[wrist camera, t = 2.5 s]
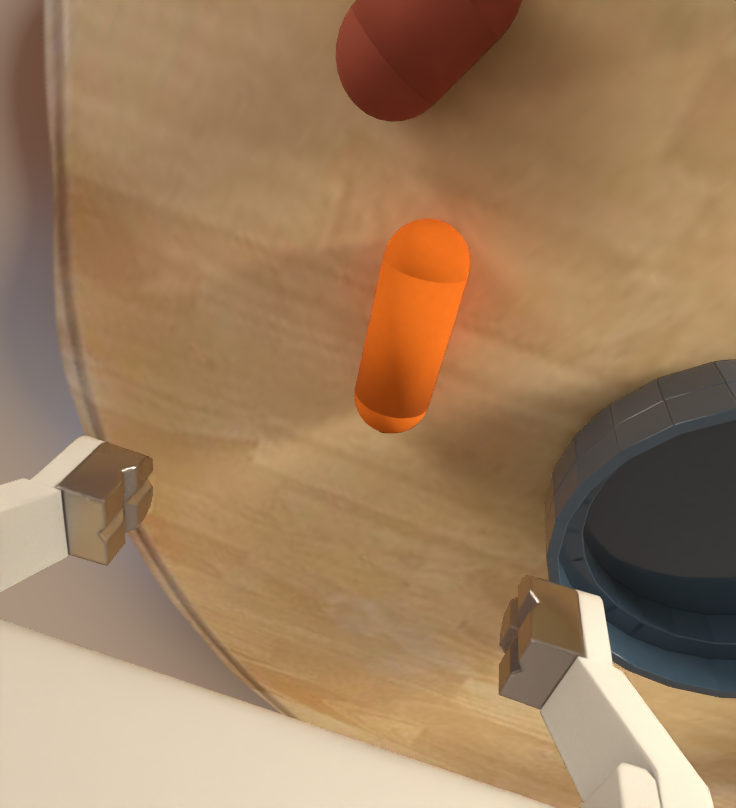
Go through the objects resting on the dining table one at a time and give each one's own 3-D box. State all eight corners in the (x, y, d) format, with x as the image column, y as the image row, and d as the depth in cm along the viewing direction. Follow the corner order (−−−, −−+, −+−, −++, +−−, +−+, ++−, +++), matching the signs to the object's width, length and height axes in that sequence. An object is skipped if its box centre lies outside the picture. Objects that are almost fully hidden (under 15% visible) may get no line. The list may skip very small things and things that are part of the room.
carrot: (401, 199, 28) (384, 221, 24) (484, 221, 27) (478, 246, 24) (357, 401, 34) (339, 439, 31) (423, 420, 34) (412, 461, 31)
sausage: (475, -121, 21) (463, -156, 17) (551, -11, 22) (555, -21, 19) (330, 52, 25) (295, 54, 21) (401, 138, 26) (379, 155, 23)
